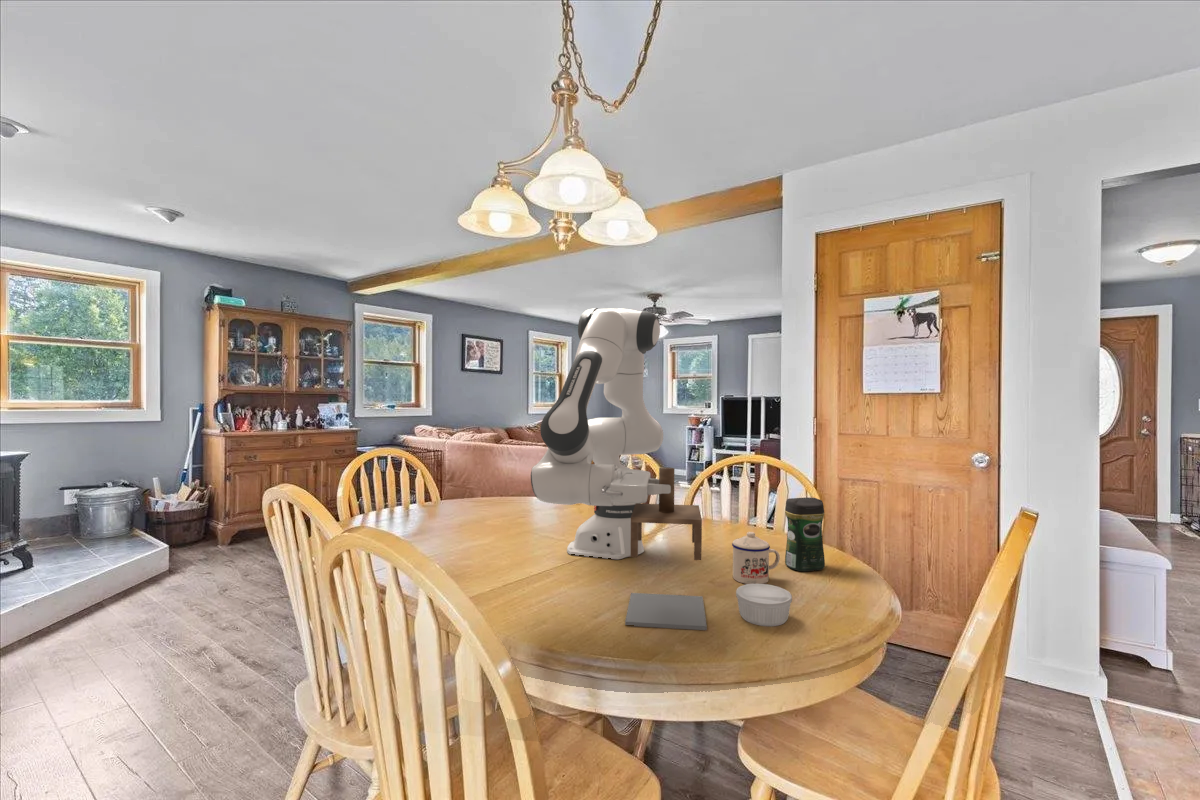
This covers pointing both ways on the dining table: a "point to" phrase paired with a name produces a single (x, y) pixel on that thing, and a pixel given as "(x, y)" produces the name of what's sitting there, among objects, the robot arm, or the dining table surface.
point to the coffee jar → (804, 534)
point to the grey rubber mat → (666, 611)
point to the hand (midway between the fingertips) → (670, 486)
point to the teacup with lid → (752, 559)
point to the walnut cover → (666, 515)
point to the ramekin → (763, 604)
